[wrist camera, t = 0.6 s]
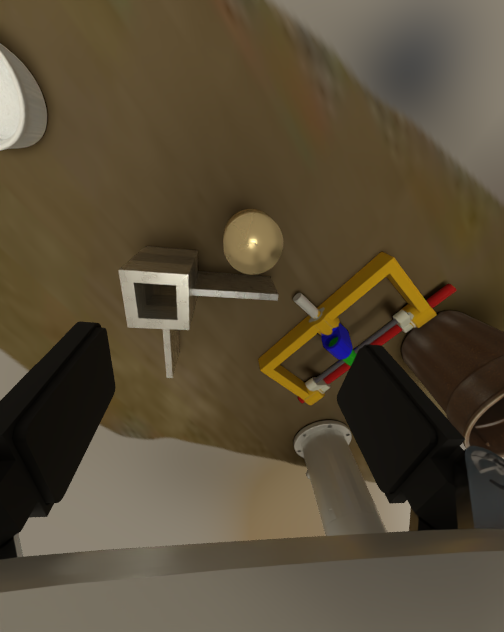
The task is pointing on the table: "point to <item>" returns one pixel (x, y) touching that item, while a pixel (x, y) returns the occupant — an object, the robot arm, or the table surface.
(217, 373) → the table surface
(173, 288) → the white corner connector
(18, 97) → the ramekin
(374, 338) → the mechanical clamp
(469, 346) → the plant pot
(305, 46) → the table surface
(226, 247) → the wooden bell shape
